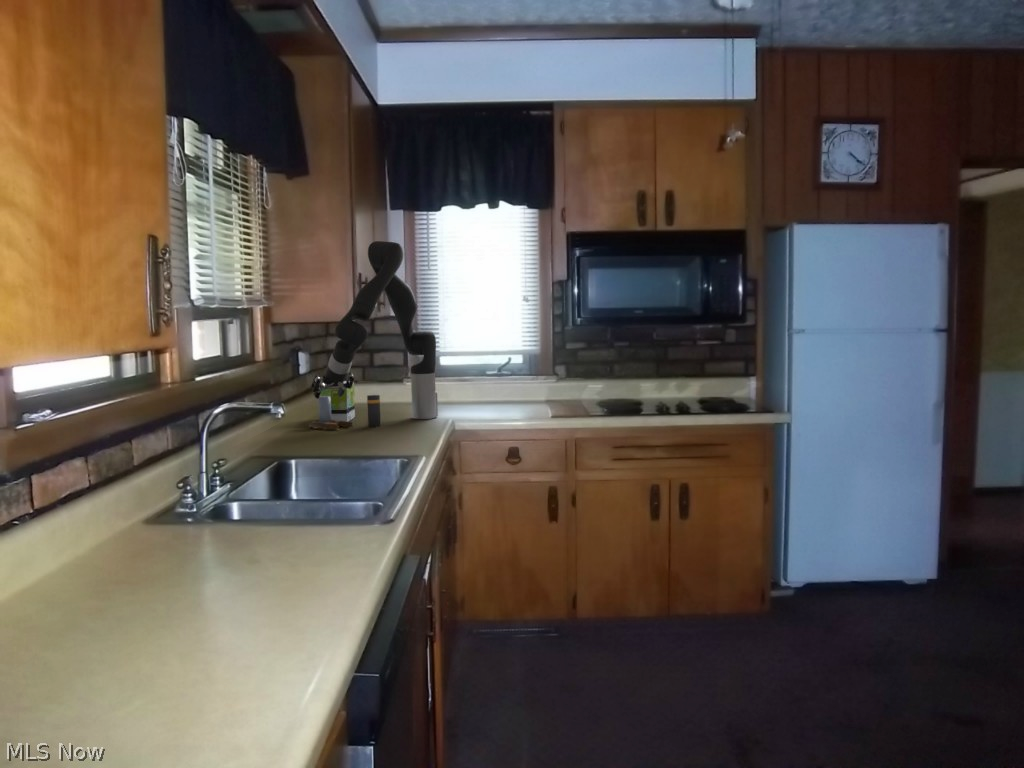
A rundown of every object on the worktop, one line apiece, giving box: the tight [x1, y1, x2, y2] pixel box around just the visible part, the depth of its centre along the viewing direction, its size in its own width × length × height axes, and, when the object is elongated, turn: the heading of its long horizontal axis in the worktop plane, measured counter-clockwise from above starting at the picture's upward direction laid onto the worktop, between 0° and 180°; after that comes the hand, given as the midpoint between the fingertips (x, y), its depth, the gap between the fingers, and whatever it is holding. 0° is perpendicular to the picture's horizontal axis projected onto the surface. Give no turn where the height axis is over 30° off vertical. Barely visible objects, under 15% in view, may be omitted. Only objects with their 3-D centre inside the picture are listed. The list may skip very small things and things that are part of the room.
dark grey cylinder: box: [366, 394, 382, 428], centre depth 293 cm, size 5×5×11 cm
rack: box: [308, 420, 353, 431], centre depth 291 cm, size 8×14×2 cm, turn 55°
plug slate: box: [317, 395, 332, 423], centre depth 292 cm, size 4×4×11 cm
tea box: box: [320, 380, 356, 422], centre depth 309 cm, size 15×10×15 cm
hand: (327, 395), depth 289 cm, fingers open, 8 cm apart
